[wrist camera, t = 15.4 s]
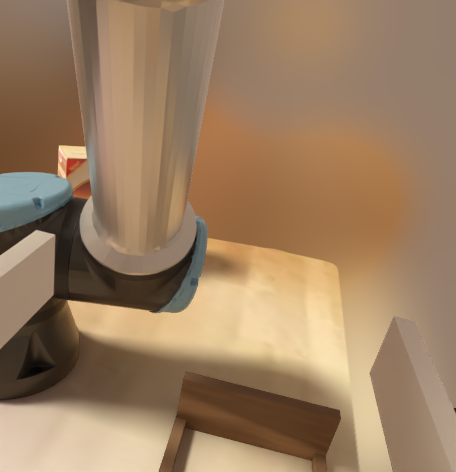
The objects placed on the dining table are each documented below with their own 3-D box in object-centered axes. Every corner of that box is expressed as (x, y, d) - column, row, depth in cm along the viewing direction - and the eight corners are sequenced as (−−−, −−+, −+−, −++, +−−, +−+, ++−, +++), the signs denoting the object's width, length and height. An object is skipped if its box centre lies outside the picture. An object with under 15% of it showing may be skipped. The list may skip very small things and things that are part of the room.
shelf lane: (177, 416, 51) (186, 371, 48) (321, 454, 50) (339, 410, 48) (144, 518, 40) (154, 467, 37) (329, 568, 39) (353, 520, 36)
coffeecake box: (61, 264, 76) (65, 157, 68) (54, 245, 81) (57, 144, 73) (143, 257, 84) (155, 160, 76) (131, 240, 89) (142, 148, 81)
